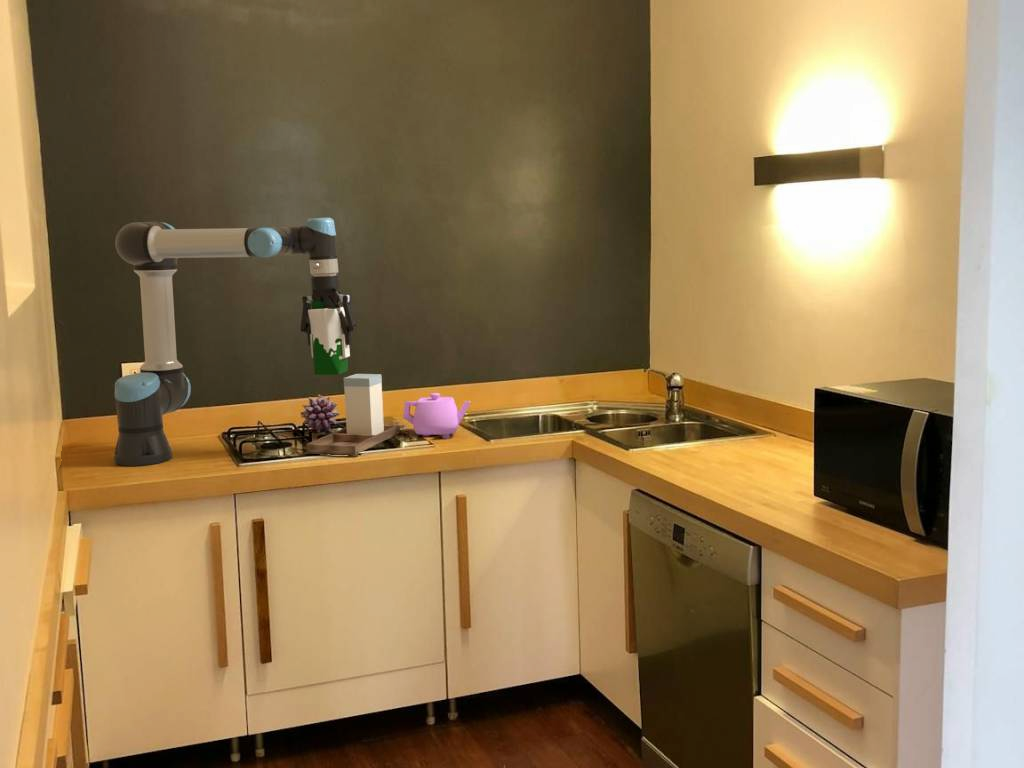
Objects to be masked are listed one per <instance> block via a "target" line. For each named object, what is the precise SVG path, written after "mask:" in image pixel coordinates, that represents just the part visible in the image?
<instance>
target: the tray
mask: <svg viewBox="0 0 1024 768" xmlns="http://www.w3.org/2000/svg"><path fill="white" fill-rule="evenodd" d="M398 432H400V433H401V426H400V424H399V425H395V424H392V425H391V424H384V431H383V432H381V433H379V434H377V435H363V434H347V426H345V427H343V428H341V429H338V430H336V431H334V432H332V433H330V434H327V435H324V436H322V437H320V438H317V439H315V440H312V441H310V442H308V443H306V444H305V449H306V450H305V452H306V455H307V454H330V455H348V456H352V457H351V458H357V457H359V456H361V455H363V453H362V452H363V451H366V450H368V449H370V448H372V447H374V446H376V445H378V444H380V443H383V442H385V441H386V440H387V441H388V439H391V438H392V437H395V436H396V435H395V434H397V433H398ZM394 435H395V436H394ZM397 435H398V434H397ZM360 454H361V455H360ZM358 455H359V456H358Z"/></svg>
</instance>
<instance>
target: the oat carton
mask: <svg viewBox="0 0 1024 768" xmlns="http://www.w3.org/2000/svg"><path fill="white" fill-rule="evenodd" d="M382 383H383V378H382V374H380V373H379V374H378V373H375V374H374V373H355V374H352V375H349V376H347V377H346V376H345V377H343V387H344V388H343V389H344V404H345V405H344V406H345V407H344V408H345V421H346V422H345V423H346V424H345V425H346V426H345V427H347V434H363V435H377V434H379V433H381V432H383V431H384V425H385V424H384V406H383V404H384V403H383V385H382Z"/></svg>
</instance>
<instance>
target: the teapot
mask: <svg viewBox="0 0 1024 768" xmlns="http://www.w3.org/2000/svg"><path fill="white" fill-rule="evenodd" d="M429 396H430V397H428V396H427V397H420V398H419V399H418V400H414V401H413V400H412V401H411V400H407V401H406V400H405V402H404V405H403V415H402V419H404V420H406V421H407V422H408V423H410V424H412V426H413V430H414V433H415V434H416V435H421V436H422V437H430V436H431V435H440V436H441V438H442V439H444V440H447V439H451V438H452V436H451V435H453V434H455V433H456V432H457V431H458V428H459V425H460V423H461V421H462V419H463V418H464V416H465V414H466V412H467V410H468V408H469V406H470V405H471V401H468V400H465V401H464V403H463V404H462V406H461V408H460V409H459V410H458V407H457V405H456V401H455V399H454V397H453V396H441V393H439V392H434V393H429ZM411 407H415V409H414V414H413V415H412V414H411Z"/></svg>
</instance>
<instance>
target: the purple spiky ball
mask: <svg viewBox="0 0 1024 768" xmlns="http://www.w3.org/2000/svg"><path fill="white" fill-rule="evenodd" d="M330 399H331V396H327V398H326V399H325V397H324V396H323V395H321V394H317V398H316V399H314V398H312V397H311V396H309V397H308V401H309V404H308V405H307V404H302V407H303V408H304V409H305V410H304V411H300V416H301V418H304V420H303V422H302V423H301V424H302V425H307V426H306V427H307V428H308V429H309V428H310V430H311V431H310V432H311V433H312V432H313V431H314V430H315V429H316V431H317V434H320V433H321V432H324V430H328V432H330V431H331V424H333V425H337V424H338V421H336V419H335V418H337V416H340V412H339V410H336V406H338V403H337V402H336V403H334V400H331V401H330ZM311 428H315V429H311Z"/></svg>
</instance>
